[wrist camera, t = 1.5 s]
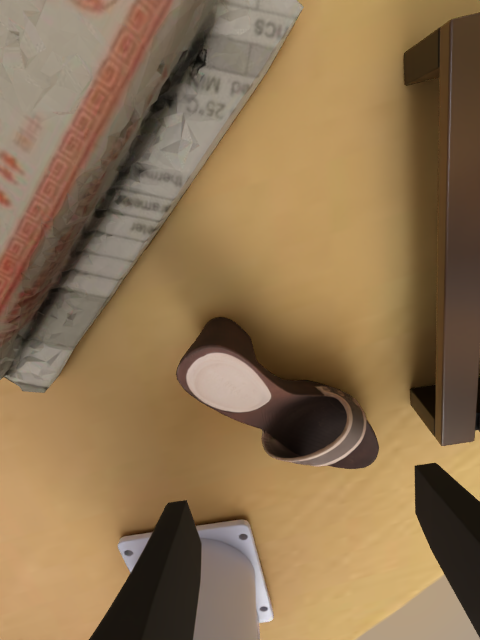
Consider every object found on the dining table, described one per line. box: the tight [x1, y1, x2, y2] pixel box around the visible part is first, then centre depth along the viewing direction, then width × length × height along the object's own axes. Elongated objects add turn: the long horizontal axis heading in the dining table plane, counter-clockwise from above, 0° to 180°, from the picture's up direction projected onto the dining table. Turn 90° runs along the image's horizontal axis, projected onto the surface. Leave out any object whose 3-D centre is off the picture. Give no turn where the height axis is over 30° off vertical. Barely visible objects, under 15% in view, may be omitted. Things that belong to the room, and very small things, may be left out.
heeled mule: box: [176, 317, 379, 469], centre depth 16 cm, size 4×11×4 cm, turn 47°
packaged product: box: [0, 0, 303, 393], centre depth 11 cm, size 18×5×10 cm
